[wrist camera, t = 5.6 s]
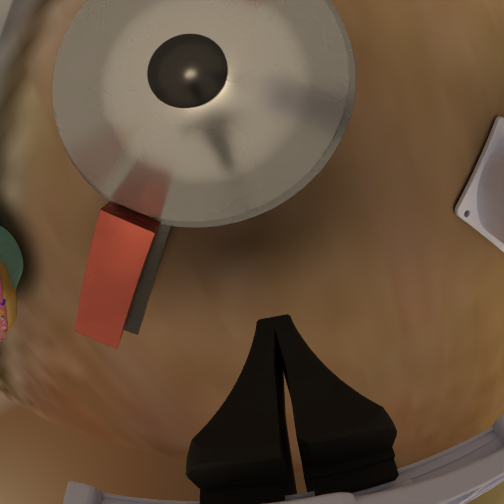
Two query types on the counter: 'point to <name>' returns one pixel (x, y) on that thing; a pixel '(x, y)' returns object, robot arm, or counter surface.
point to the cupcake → (8, 280)
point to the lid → (189, 120)
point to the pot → (165, 226)
